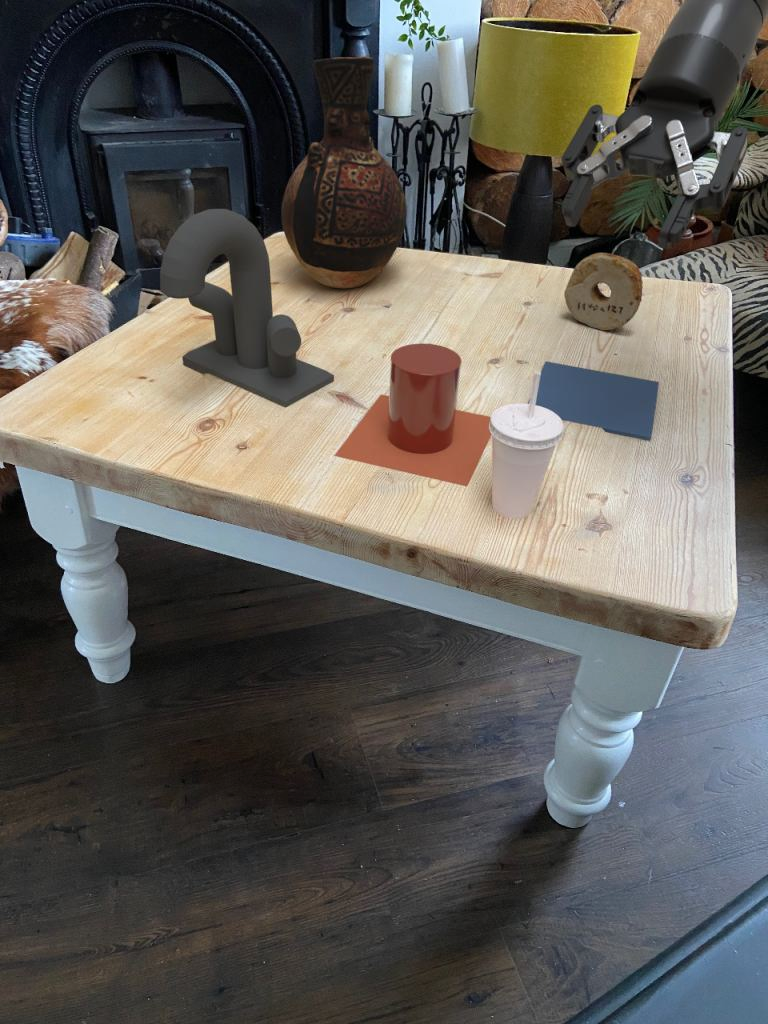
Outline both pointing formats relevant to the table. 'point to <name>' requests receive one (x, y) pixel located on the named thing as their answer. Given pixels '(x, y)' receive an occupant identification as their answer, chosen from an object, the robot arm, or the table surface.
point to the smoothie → (521, 453)
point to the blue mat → (599, 399)
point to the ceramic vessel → (344, 186)
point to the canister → (423, 397)
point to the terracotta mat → (444, 465)
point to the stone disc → (592, 302)
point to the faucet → (238, 309)
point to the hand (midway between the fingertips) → (614, 232)
